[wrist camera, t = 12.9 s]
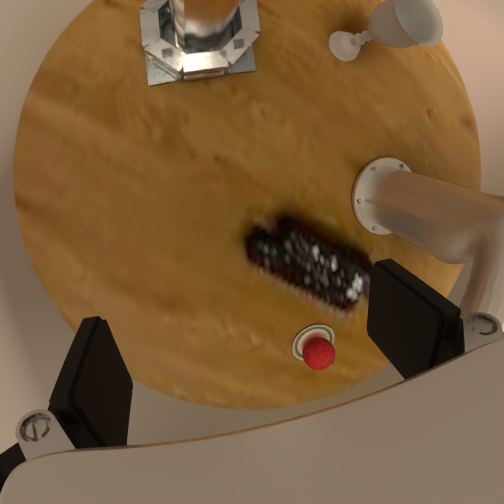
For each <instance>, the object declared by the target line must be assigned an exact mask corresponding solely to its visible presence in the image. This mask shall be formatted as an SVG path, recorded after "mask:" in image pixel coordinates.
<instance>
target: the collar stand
mask: <svg viewBox="0 0 504 504" xmlns="http://www.w3.org/2000/svg"><path fill="white" fill-rule="evenodd" d="M140 22H141V34H142V46H143V48H144V50H145V58H146V67H147V76H148V84H149V87H151V86H155V85H161V84H166V83H171V82H177V81H183V80H184V81H189V80H196V79H203V78H210V77H218V76H223V75H227V74H237V73H248V72H255V71H256V66H255V58H254V51H253V44H252V43H253V42H254V41H255V40H256V39H257V38H258V36H259V33H260V32H261V29H260V23H259V16H258V10H257V3H256V0H241V1H240V3H239V5H238V7H237V10H236V12H235V14H234V16H233V19H232V21H231V23H230V26H229V28H228V30H227V33H226V35H225V38H224V40H223V42H222V44H221V46H220V47H219V48H218V49H217V50H216V51H212V52H204V53H196V54H189V55H186V54H185V53H183V52H182V51H180V50H179V49H178V48H177V47H176V44H175V42H174V36H173V28H172V20H171V11H170V3H169V0H147V1H146V2H145V3H144V4H143V5H142V6H141V10H140Z"/></svg>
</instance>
